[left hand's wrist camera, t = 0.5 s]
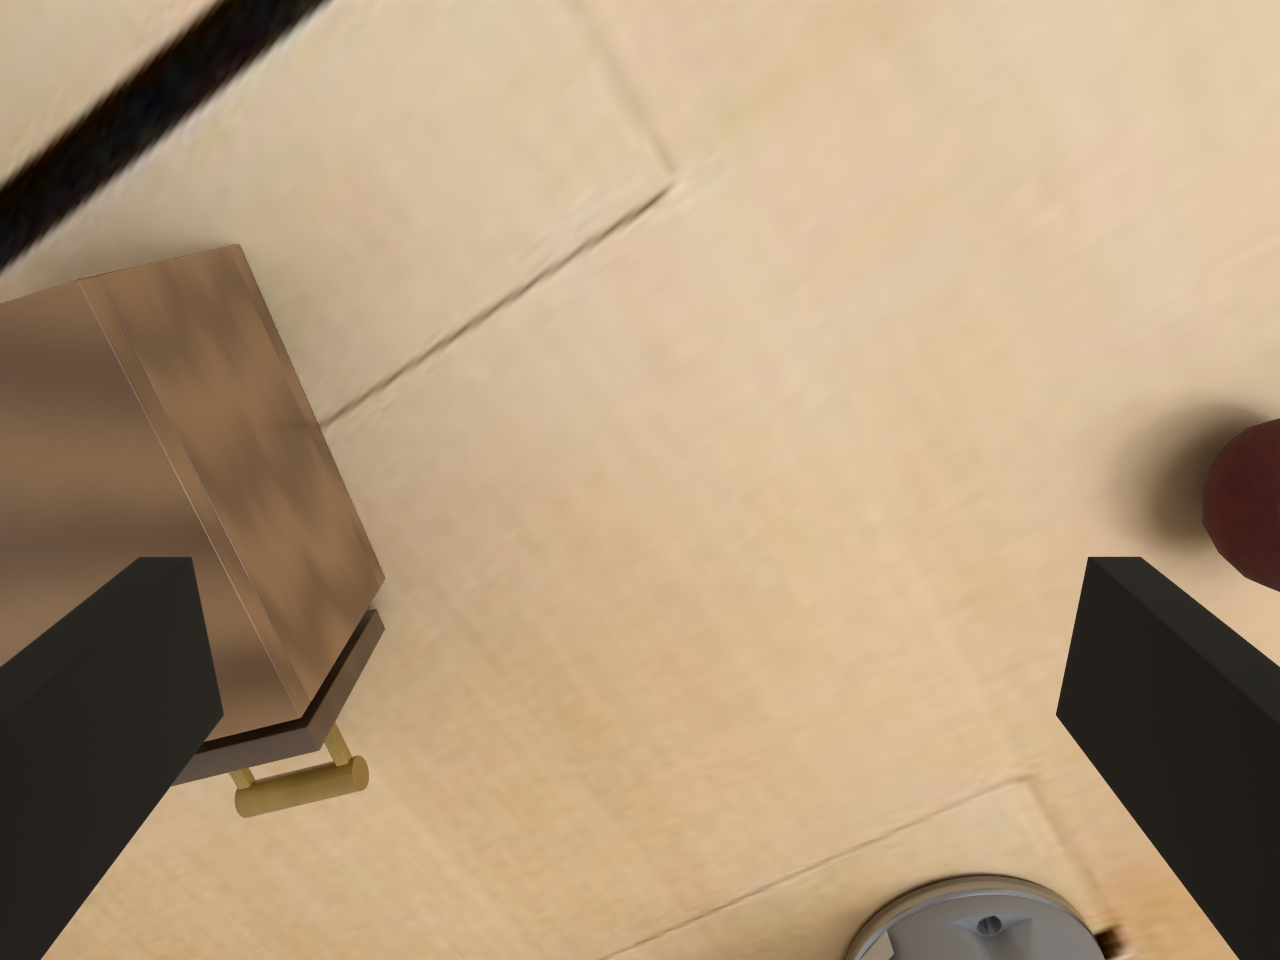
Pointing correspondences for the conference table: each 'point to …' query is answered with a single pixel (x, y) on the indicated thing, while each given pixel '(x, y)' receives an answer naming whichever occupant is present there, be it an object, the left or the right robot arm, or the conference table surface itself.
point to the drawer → (296, 742)
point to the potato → (1247, 503)
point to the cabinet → (177, 474)
